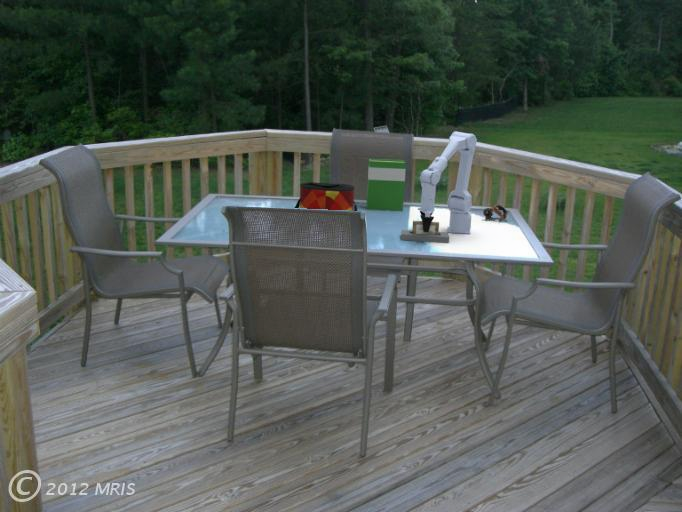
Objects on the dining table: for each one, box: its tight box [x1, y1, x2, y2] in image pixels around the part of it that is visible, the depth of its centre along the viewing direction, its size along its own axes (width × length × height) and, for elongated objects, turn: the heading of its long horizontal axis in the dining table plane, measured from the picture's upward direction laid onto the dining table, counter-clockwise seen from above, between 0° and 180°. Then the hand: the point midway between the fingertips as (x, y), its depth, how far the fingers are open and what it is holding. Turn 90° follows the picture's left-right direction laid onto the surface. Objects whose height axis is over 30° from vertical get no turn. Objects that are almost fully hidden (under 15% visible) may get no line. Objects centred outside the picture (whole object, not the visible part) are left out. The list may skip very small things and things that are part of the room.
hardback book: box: [365, 158, 407, 212], centre depth 366 cm, size 18×7×24 cm, turn 90°
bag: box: [294, 181, 358, 212], centre depth 344 cm, size 30×14×16 cm, turn 85°
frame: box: [411, 220, 440, 235], centre depth 316 cm, size 11×2×7 cm, turn 86°
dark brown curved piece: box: [482, 204, 509, 222], centre depth 356 cm, size 12×10×8 cm
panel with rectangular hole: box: [400, 229, 450, 244], centre depth 317 cm, size 20×8×2 cm, turn 86°
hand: (425, 229), depth 316 cm, fingers open, 7 cm apart
